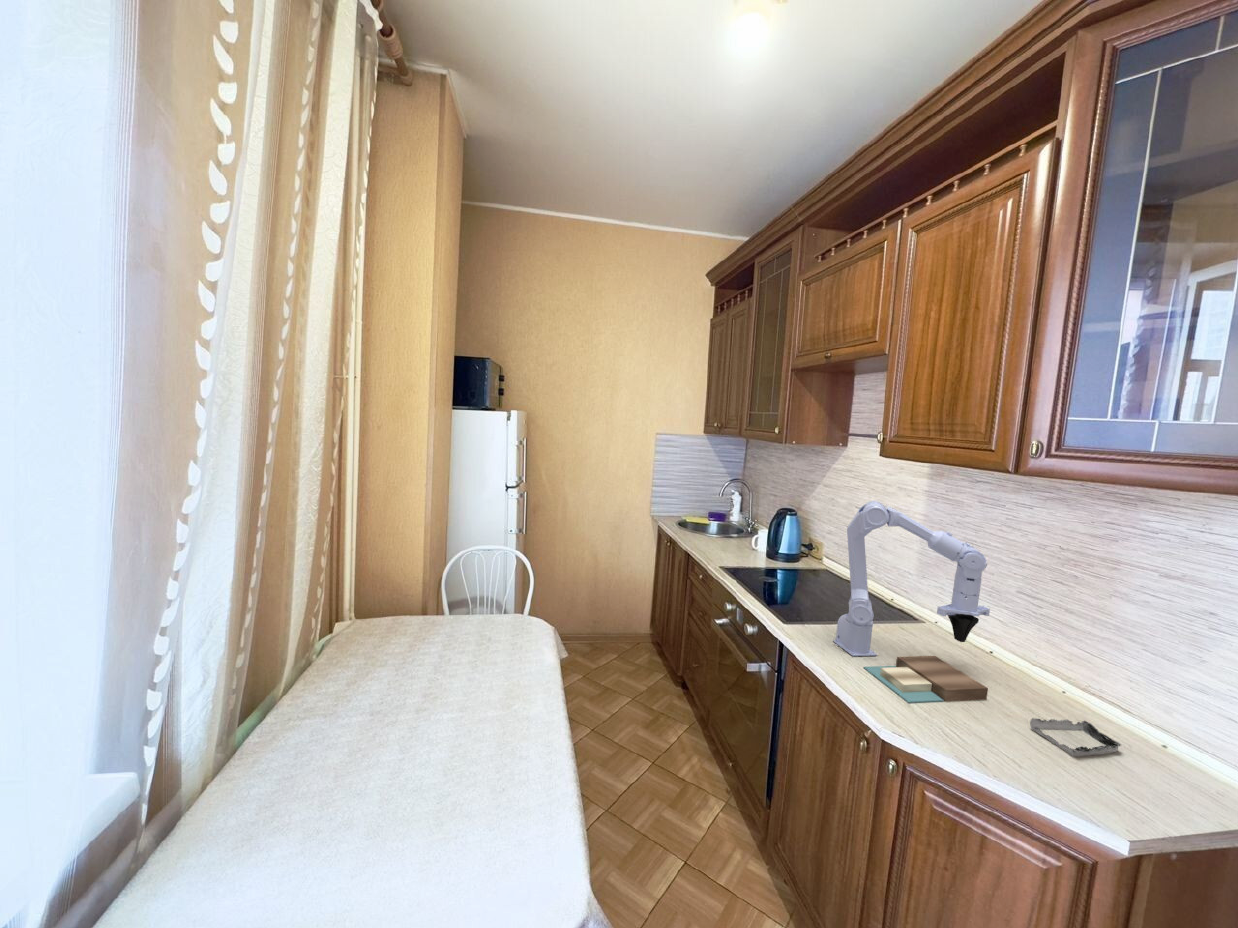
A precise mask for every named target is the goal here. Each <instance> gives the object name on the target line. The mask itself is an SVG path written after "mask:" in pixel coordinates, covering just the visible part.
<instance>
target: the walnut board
mask: <svg viewBox="0 0 1238 928" xmlns="http://www.w3.org/2000/svg"><path fill="white" fill-rule="evenodd" d="M895 666H896V667H908V668H910V669H911V670H913V671H914V672H916V673H917V674H919V675H920V676H921V677H923V678H924V679H926V680H927V681H929V682H930V683H932V688H931V691H932V692H933V693H934V694H936V695H937V696H939V697H940V698H941V699H943V700H944V702H947V703H948V702H962V701H963V702H964V701H965V702H967V701H986V700H987V698H988V693H989V692H988V691H989V688H988V687H987V686H986V685H983V684H982V683H981V682H979V681H977V680H975V679H974V678H972V677H970V676H969V675H967V674H966V673H964V672H962V671H960V670H959V669H957V668H956V667H954V666H952V665H950V664H949V663H947V662H946V661H944V660H943V659H941V658H939V657H938V656H936V655H921V656H920V655H919V656H918V655H917V656H916V655H915V656H910V655H909V656H897V657H896V664H895Z"/></svg>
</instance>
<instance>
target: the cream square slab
mask: <svg viewBox="0 0 1238 928" xmlns="http://www.w3.org/2000/svg"><path fill="white" fill-rule="evenodd" d="M880 675H881V676H882V677H883V678H885V679H886V680H887V681H889V682H890V683H891V684H893V685H894V686H895V687H897V688H898V689H899V690H900V691H902V692H925V691H931V688H932V683H930V682H929V681H927V680H926V679H924V678H923V677H921V676H920V675H919V674H917V673H916V672H914V671H913V670H911V669H910V668H908V667H891V668H881V672H880Z"/></svg>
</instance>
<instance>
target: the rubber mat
mask: <svg viewBox="0 0 1238 928" xmlns="http://www.w3.org/2000/svg"><path fill="white" fill-rule="evenodd" d="M891 667H896V665H879V666H878V665H877V666H876V665H874V666H872V665H871V666H863V669H864V670H865V671H866V672H868V674H870V675H871V676H873V677H874V678H875V679H877V680H878V681H879V682H880V683H882V684H883V685H884V686H886V687H887V688H888V689H889V690H891V691H892V692H893V693H894V694H896V695H897V696H898V697H900V698H901V699H902V700H904V701H905V702H906V703H907V704H921V703H922V704H923V703H941V702H944V700H943V699H941V698H940V697H939V696H937V695H936V694H934V693H933V692H932V691H925V692H902V691H900V690H899V689H898V688H897V687H895V686H894V685H893V684H891V683H890V682H889V681H887V680H886V679H885V678H883V677H882V676H881V675H880V672H881V668H891Z"/></svg>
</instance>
